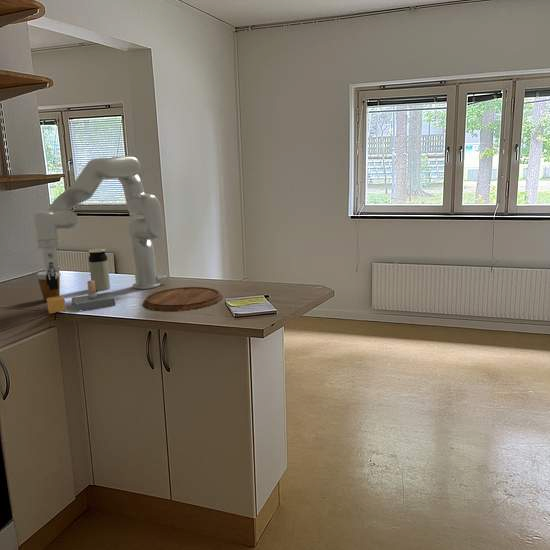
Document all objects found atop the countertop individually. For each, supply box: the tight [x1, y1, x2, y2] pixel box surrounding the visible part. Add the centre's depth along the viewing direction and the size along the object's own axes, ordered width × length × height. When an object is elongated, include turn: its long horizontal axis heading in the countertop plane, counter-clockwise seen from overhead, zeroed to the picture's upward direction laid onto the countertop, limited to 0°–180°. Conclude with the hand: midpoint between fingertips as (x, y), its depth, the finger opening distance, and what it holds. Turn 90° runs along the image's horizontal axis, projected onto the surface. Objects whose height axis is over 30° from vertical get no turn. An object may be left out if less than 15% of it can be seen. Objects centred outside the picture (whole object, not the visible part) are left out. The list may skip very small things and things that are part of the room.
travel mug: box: [88, 248, 111, 291], centre depth 245 cm, size 8×8×18 cm
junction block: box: [71, 279, 116, 312], centre depth 217 cm, size 15×12×10 cm
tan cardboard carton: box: [46, 295, 67, 315], centre depth 212 cm, size 6×6×5 cm
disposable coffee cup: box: [36, 270, 62, 302], centre depth 229 cm, size 10×10×12 cm
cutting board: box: [143, 286, 223, 312], centre depth 220 cm, size 32×32×2 cm
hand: (52, 287), depth 210 cm, fingers open, 9 cm apart
